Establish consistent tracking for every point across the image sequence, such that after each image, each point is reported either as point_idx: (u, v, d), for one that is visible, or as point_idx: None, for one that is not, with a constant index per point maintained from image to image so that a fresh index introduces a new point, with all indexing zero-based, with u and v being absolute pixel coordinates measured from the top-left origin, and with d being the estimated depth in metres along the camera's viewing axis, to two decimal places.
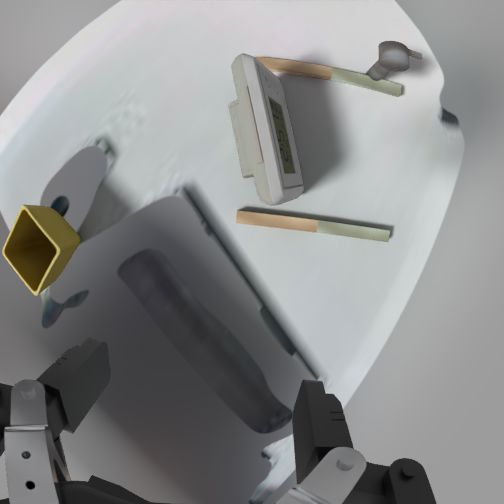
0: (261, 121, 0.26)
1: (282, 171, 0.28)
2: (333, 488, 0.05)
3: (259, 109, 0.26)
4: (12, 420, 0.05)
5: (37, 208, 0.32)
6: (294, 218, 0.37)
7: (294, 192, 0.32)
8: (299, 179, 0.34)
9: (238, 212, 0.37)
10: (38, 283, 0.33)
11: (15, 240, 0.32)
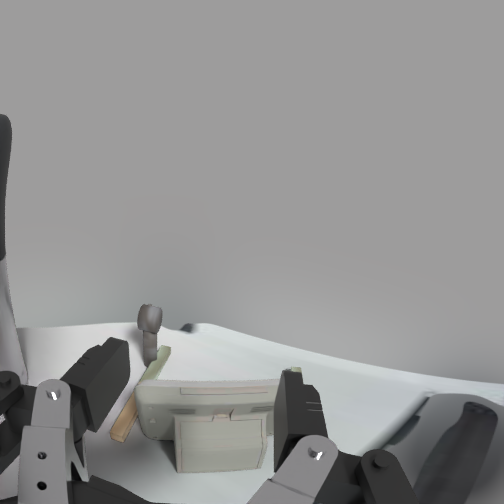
0: (223, 384, 0.25)
1: None
2: (307, 476, 0.06)
3: (209, 383, 0.25)
4: (33, 419, 0.06)
5: None
6: None
7: None
8: None
9: None
10: None
11: None
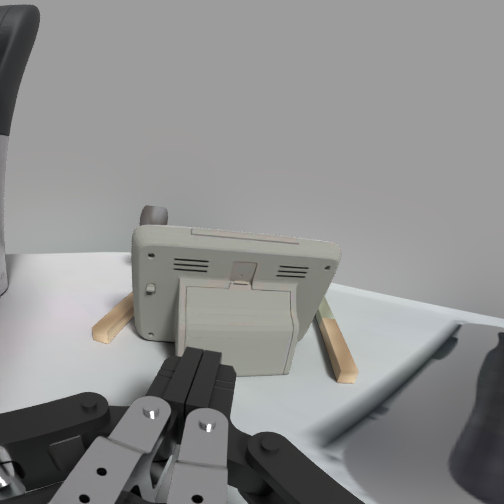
0: (244, 232, 0.22)
1: None
2: (209, 448, 0.07)
3: (227, 230, 0.22)
4: (115, 431, 0.06)
5: None
6: (327, 330, 0.29)
7: None
8: None
9: (342, 369, 0.22)
10: None
11: None
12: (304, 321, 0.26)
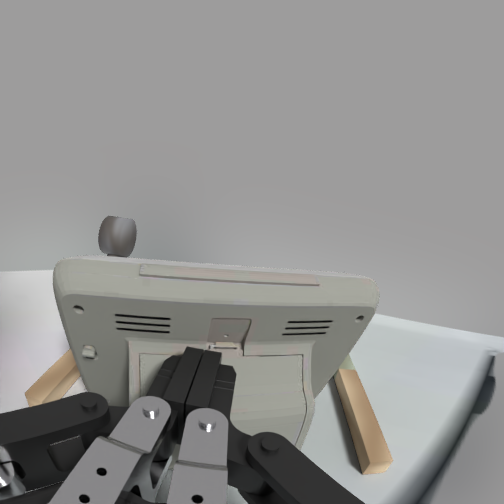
0: (230, 267, 0.13)
1: None
2: (210, 448, 0.07)
3: (202, 265, 0.13)
4: (115, 431, 0.06)
5: None
6: (347, 391, 0.19)
7: None
8: None
9: (372, 460, 0.13)
10: None
11: None
12: (319, 382, 0.17)
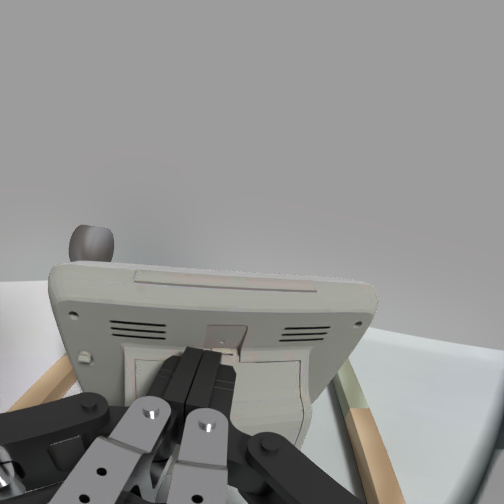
0: (226, 273, 0.13)
1: None
2: (210, 449, 0.07)
3: (198, 271, 0.13)
4: (115, 431, 0.06)
5: None
6: (361, 437, 0.15)
7: None
8: None
9: None
10: None
11: None
12: (317, 387, 0.17)
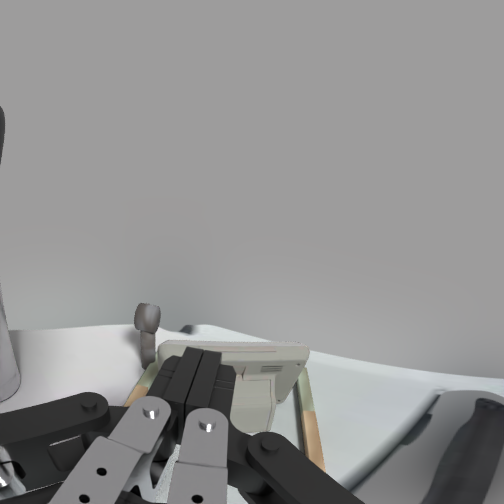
0: (236, 344, 0.30)
1: None
2: (209, 448, 0.07)
3: (224, 343, 0.29)
4: (115, 431, 0.06)
5: None
6: (306, 426, 0.30)
7: None
8: None
9: None
10: None
11: None
12: (284, 392, 0.33)
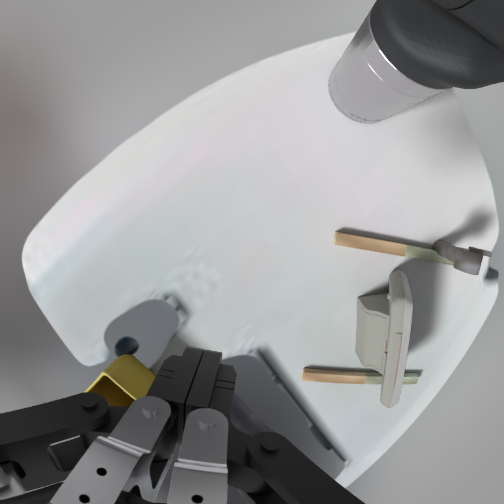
0: (402, 360, 0.30)
1: None
2: (209, 449, 0.07)
3: (404, 351, 0.30)
4: (115, 431, 0.06)
5: (116, 368, 0.36)
6: (349, 376, 0.41)
7: None
8: None
9: (305, 373, 0.41)
10: None
11: None
12: None
